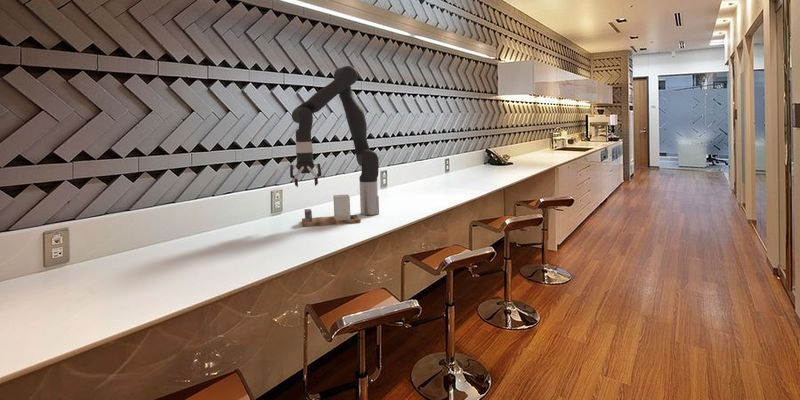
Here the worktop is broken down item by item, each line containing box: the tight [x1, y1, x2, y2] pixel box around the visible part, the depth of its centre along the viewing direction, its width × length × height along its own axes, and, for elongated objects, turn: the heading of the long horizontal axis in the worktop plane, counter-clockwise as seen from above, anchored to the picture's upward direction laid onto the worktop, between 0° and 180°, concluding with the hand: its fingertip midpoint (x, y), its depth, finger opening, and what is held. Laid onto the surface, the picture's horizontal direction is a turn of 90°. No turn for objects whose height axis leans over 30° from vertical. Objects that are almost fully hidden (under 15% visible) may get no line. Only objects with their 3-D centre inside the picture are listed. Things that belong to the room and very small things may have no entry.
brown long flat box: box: [301, 208, 362, 228], centre depth 212 cm, size 27×12×6 cm, turn 104°
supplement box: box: [332, 194, 352, 221], centre depth 214 cm, size 7×7×13 cm
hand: (306, 186), depth 208 cm, fingers open, 8 cm apart
